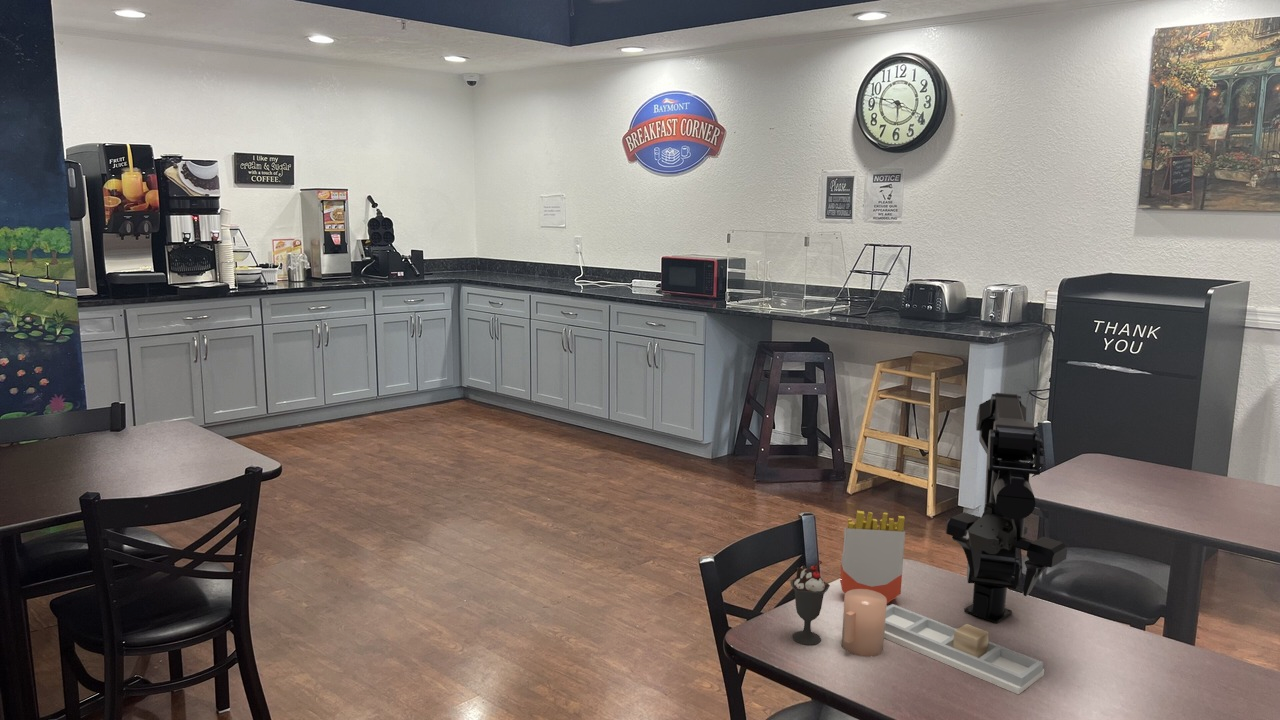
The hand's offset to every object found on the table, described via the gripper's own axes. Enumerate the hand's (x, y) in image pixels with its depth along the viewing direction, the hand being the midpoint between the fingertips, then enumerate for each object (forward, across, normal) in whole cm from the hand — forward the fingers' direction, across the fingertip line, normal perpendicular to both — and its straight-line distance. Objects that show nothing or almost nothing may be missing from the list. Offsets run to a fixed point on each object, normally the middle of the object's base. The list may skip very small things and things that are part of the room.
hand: (999, 585), depth 155 cm
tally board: (+12, -4, -6) cm, 14 cm away
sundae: (+12, -23, -22) cm, 34 cm away
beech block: (+11, -1, -6) cm, 12 cm away
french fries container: (+12, -26, 0) cm, 28 cm away
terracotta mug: (+12, -15, -17) cm, 25 cm away
